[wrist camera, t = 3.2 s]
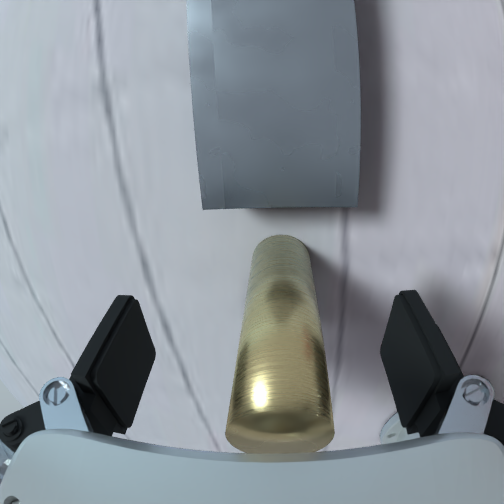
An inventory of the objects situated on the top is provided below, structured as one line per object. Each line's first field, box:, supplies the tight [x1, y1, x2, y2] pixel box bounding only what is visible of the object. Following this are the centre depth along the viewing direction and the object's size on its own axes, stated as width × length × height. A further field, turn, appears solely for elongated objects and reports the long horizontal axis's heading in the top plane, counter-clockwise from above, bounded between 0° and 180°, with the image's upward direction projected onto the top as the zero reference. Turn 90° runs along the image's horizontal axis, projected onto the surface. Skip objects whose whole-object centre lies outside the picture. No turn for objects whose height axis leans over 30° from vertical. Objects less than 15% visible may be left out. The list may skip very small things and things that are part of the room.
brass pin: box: [225, 235, 335, 454], centre depth 12 cm, size 3×3×10 cm
